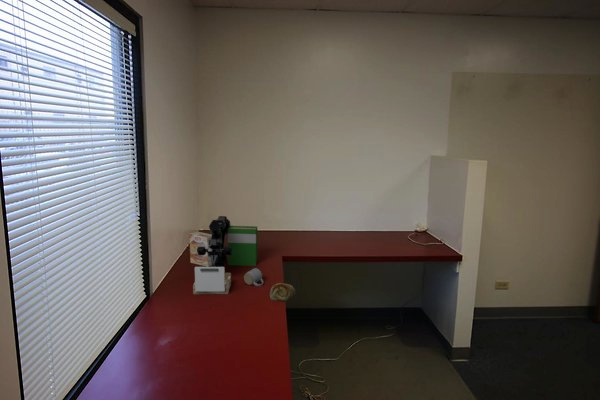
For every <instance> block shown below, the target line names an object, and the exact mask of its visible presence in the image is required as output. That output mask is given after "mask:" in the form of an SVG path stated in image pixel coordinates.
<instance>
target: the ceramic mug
mask: <svg viewBox="0 0 600 400" xmlns="http://www.w3.org/2000/svg"><path fill="white" fill-rule="evenodd" d="M243 281H244V282H245V284H247V285H248V286H252V285H254V286H256V287H262V286H263V284H264V279H263V274H262V271H261V270H260V269H259V268H257V267H256V268H255V267H254V268H252V269H251V270H249V271H247V272H246V273H244V275H243ZM258 282H261V283H258Z"/></svg>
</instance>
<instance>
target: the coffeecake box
mask: <svg viewBox="0 0 600 400" xmlns="http://www.w3.org/2000/svg"><path fill="white" fill-rule="evenodd" d="M211 236H212V234H211V233H206V232H201V231H194V232H191V233H189V254H190V256H189V257H190V259H189V260H190V263H191V264H195V265H199V266H201V267H212V266H213V265H212V262H211V257H210V256H208V253H207V252H206V254H205V255H198V252H197V248H198V247H205V249H210V248H209V240H211Z"/></svg>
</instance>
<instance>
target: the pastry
mask: <svg viewBox="0 0 600 400" xmlns="http://www.w3.org/2000/svg"><path fill="white" fill-rule="evenodd" d="M295 295H296V289H295V287H293V285H292V284H288V283H283V282H282V283H281V282H278V283H276V284H273V285H272V286H271V288H270V291H269V299H270V300H271V301H274V302H275V301H276V302H277V301H279V302H288V301H289V300H290V299H292V298H293V297H294V296H295Z"/></svg>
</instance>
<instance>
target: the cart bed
mask: <svg viewBox="0 0 600 400" xmlns="http://www.w3.org/2000/svg"><path fill="white" fill-rule="evenodd" d="M231 286H232V273H231V272H227V273H225V291H195V282H194V283H193V284H192V294H193V295H229V293H230V289H231Z"/></svg>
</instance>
